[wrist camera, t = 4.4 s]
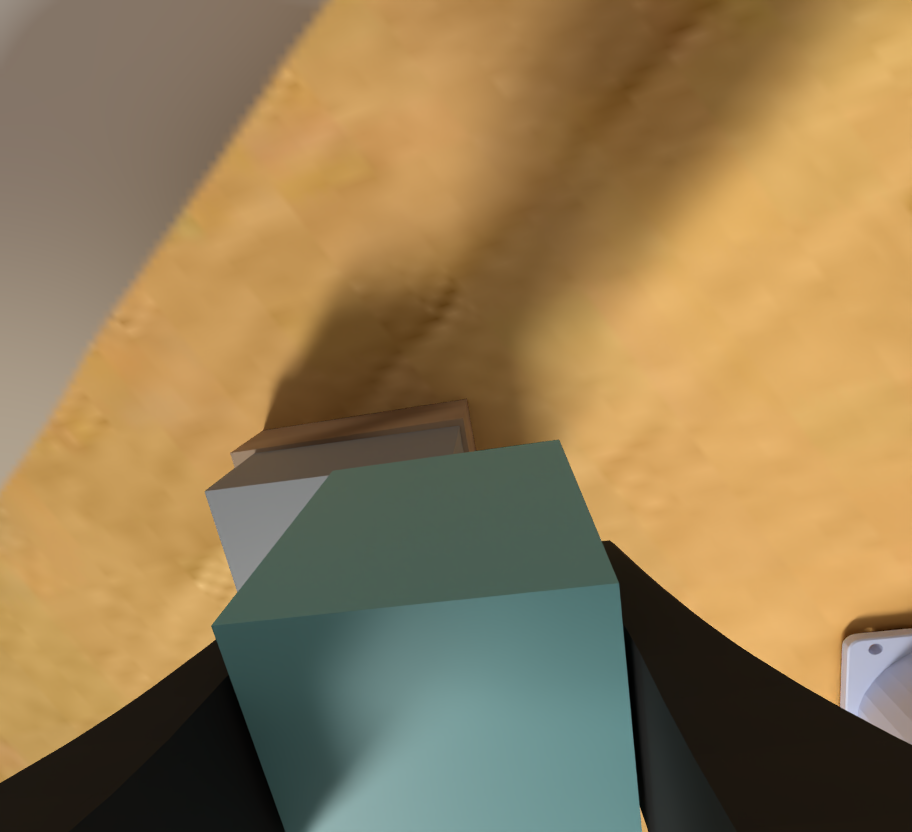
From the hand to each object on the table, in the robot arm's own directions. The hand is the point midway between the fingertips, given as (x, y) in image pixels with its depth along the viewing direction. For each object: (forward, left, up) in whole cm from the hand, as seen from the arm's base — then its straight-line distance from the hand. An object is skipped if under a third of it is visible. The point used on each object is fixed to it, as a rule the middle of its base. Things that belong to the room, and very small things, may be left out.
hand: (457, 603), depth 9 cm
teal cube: (0, 0, -2) cm, 2 cm away
